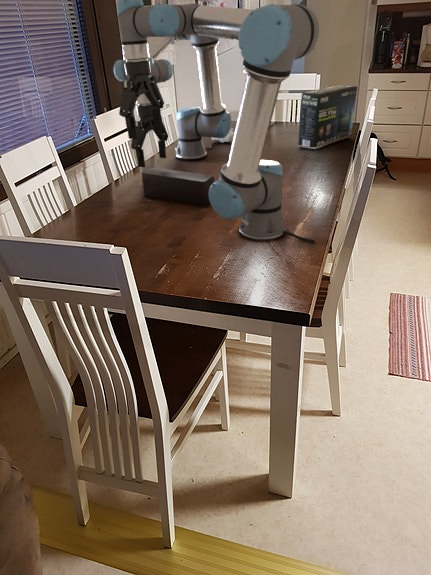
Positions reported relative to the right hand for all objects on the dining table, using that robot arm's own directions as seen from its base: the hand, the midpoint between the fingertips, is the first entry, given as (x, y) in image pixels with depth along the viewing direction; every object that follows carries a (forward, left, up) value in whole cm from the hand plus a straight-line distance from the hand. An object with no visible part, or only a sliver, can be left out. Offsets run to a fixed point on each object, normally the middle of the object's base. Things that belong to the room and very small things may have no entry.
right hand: (146, 134), depth 147 cm
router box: (-20, -125, -30) cm, 130 cm away
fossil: (+32, -110, -30) cm, 118 cm away
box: (+4, -21, -30) cm, 37 cm away
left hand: (+15, -21, -16) cm, 31 cm away
